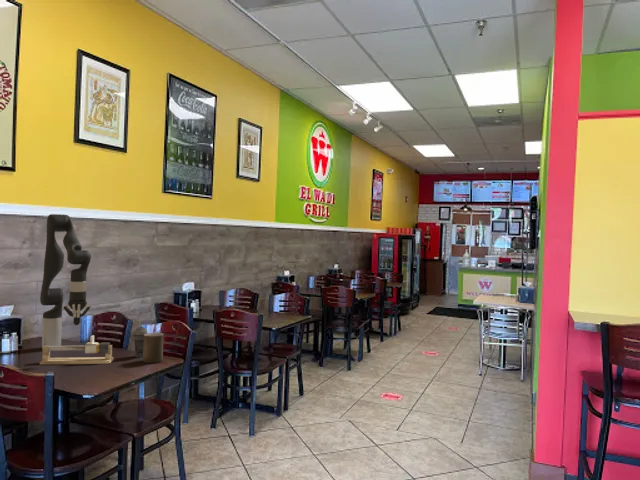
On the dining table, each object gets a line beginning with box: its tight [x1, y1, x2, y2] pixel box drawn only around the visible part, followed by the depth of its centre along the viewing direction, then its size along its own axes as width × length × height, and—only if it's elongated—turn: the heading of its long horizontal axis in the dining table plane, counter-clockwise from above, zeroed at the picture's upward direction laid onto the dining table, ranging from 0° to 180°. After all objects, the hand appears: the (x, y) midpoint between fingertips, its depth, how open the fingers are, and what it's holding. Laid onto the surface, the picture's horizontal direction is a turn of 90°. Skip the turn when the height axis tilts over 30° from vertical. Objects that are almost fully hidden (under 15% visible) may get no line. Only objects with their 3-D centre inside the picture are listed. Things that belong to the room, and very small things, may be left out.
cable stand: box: [39, 341, 114, 365], centre depth 243 cm, size 8×32×9 cm, turn 101°
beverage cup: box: [133, 318, 148, 358], centre depth 258 cm, size 7×7×20 cm
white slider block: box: [84, 335, 100, 354], centre depth 244 cm, size 5×5×8 cm
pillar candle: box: [142, 332, 164, 364], centre depth 249 cm, size 10×10×15 cm
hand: (76, 324), depth 243 cm, fingers closed
